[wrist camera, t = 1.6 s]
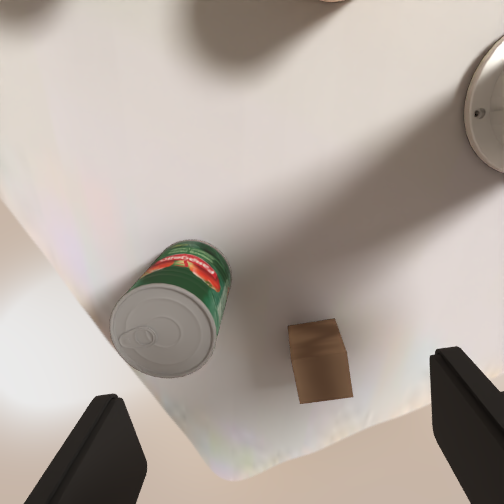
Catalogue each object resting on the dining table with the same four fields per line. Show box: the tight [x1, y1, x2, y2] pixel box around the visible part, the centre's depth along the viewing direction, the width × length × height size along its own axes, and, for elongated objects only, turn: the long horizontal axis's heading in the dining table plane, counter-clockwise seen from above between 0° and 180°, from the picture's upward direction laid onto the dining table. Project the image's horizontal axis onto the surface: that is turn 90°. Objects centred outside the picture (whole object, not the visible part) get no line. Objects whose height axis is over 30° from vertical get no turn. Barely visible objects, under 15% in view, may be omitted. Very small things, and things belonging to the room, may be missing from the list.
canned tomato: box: [110, 240, 232, 378], centre depth 31 cm, size 8×8×11 cm
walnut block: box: [288, 318, 353, 404], centre depth 35 cm, size 5×5×6 cm
